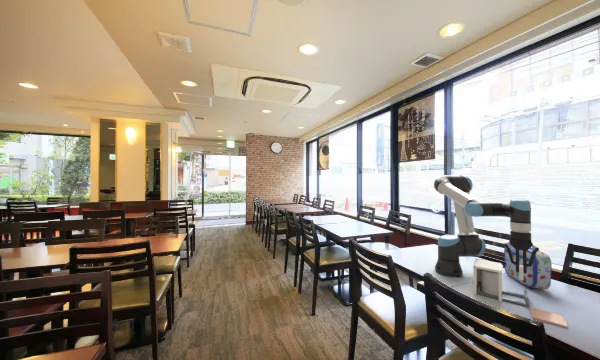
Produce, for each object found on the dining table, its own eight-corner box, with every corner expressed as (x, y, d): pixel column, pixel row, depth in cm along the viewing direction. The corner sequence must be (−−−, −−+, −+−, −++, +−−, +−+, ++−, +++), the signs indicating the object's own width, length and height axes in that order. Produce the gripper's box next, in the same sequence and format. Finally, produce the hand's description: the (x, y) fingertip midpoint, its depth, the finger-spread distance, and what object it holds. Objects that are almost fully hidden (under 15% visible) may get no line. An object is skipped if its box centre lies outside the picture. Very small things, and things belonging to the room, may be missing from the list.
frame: (477, 293, 122) (477, 285, 122) (479, 286, 130) (479, 279, 130) (528, 306, 109) (528, 298, 109) (526, 297, 118) (526, 289, 118)
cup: (502, 299, 117) (502, 275, 117) (482, 294, 121) (482, 271, 121) (499, 292, 124) (499, 269, 124) (480, 288, 128) (480, 266, 128)
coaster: (532, 318, 100) (532, 316, 100) (530, 308, 108) (530, 307, 108) (567, 328, 94) (567, 326, 94) (562, 317, 101) (562, 315, 101)
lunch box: (499, 272, 151) (499, 238, 151) (517, 273, 149) (517, 238, 149) (532, 292, 124) (531, 250, 124) (555, 293, 122) (555, 251, 122)
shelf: (473, 294, 122) (473, 265, 122) (475, 284, 133) (475, 258, 133) (501, 301, 114) (501, 271, 114) (501, 291, 125) (501, 263, 125)
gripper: (503, 230, 117) (503, 278, 116) (540, 234, 108) (541, 285, 108) (502, 228, 122) (503, 273, 122) (538, 231, 114) (539, 280, 113)
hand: (521, 279), depth 115 cm, fingers closed
